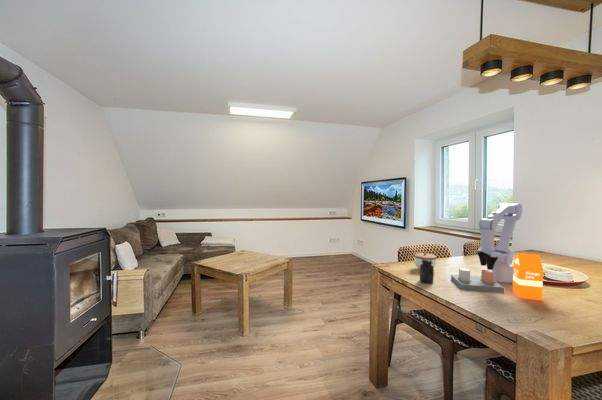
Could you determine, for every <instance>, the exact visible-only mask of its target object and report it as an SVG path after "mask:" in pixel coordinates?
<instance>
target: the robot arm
mask: <svg viewBox="0 0 602 400" xmlns="http://www.w3.org/2000/svg"><path fill="white" fill-rule="evenodd" d="M522 212H523V206H522V204H521V203H516V202H515V203H513V202H511V203H510V202H500V203H499V204H498V206H497V210H496V211H491V213H490V214H488V215H487V216H486V217H485V218H484V217H483V218H482V219H480V220H479V223H478V228H479V232H480V246H479V247H478V249H477V251H476V254H477V255H478V259H479V262H480V266H481V267H482V266H485V267H486V270H491V271H492V272H494V281H496V282H497V283H507V284H513V270H514V265H512V263H513V262H514V259H513V258H514V253H513V251H512V250H511V249H510V248H509V247H510V243H511V240H512V237H513V233H514V230H515V226H516V223H517V221H519V220H520V219H521V217H522ZM503 220H504V222H503V225H502V229H501V234H500V236H499V240H498V242H497V245H495V230H496V229H497V227H498V225H499V223H500V222H501V221H503Z"/></svg>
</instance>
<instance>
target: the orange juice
mask: <svg viewBox="0 0 602 400" xmlns="http://www.w3.org/2000/svg"><path fill="white" fill-rule="evenodd" d="M513 268H514V270H513V283H512V293H513V294H515V295H516V297H518V298H520V299H529V300H538V301H542V300H543V288H544V287H543V284H544V283H543V282H544V281H543V280H544V279H543V278H544V268H543V263H542V259H541V255H540V254H535V253H534V254H533V253H520V252H518V253H516V256H515V259H514V260H513Z"/></svg>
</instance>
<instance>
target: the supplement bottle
mask: <svg viewBox="0 0 602 400" xmlns="http://www.w3.org/2000/svg"><path fill="white" fill-rule="evenodd" d="M431 264H432V260H429V259H422V264H421V265H420V270H419V282H421V283H422V284H428V285H429V284H430V285H431V284H433V283H434V274H435V273H434V272H435V271H434V268H435V267H433V266H432V265H431Z"/></svg>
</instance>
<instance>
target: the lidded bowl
mask: <svg viewBox="0 0 602 400" xmlns="http://www.w3.org/2000/svg"><path fill="white" fill-rule="evenodd" d="M413 256H414V259H413V260H414V264H415V267H416V268H417V269H418V271H420V265H421V264H422V259H429V260H432V264H431V265H432V266H433V267H434V268H435V266H436V264H437V255H435V254H432V253H427V252H426V251H424V252H417V253H414V255H413Z"/></svg>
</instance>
